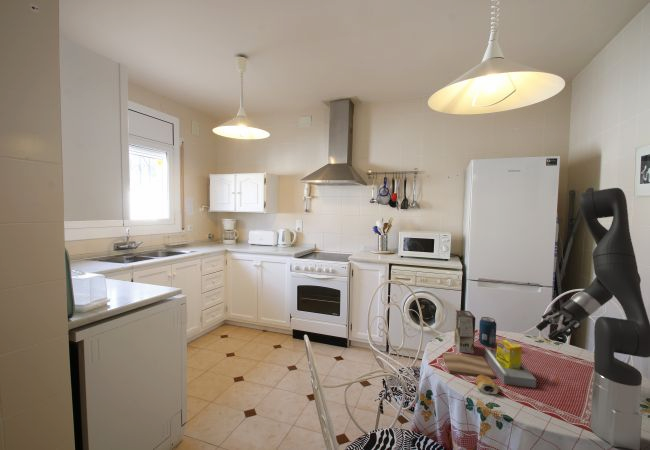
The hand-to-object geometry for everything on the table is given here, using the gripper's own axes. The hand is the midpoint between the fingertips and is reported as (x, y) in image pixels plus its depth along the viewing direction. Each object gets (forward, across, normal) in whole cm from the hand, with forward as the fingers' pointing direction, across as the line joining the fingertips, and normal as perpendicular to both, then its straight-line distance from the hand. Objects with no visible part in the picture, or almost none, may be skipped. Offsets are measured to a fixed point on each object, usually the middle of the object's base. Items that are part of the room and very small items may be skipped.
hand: (543, 333), depth 109 cm
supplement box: (+20, 0, +3) cm, 20 cm away
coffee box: (+28, -16, -5) cm, 33 cm away
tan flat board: (+30, 0, -8) cm, 31 cm away
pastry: (+29, +14, -6) cm, 33 cm away
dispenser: (+20, 0, +3) cm, 20 cm away
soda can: (+20, -23, +3) cm, 30 cm away
